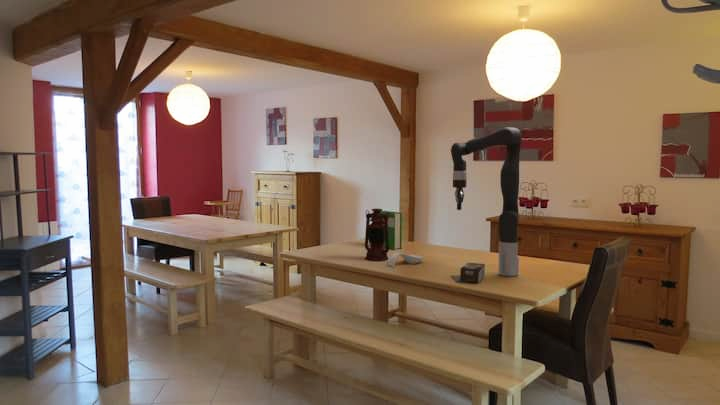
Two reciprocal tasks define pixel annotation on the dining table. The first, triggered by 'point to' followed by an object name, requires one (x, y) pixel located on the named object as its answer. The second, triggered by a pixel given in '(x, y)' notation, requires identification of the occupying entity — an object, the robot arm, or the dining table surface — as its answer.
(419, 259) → the spoon rest
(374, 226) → the lantern
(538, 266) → the dining table surface
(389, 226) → the hardback book
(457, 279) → the mat
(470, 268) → the coffee box
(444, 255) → the dining table surface
